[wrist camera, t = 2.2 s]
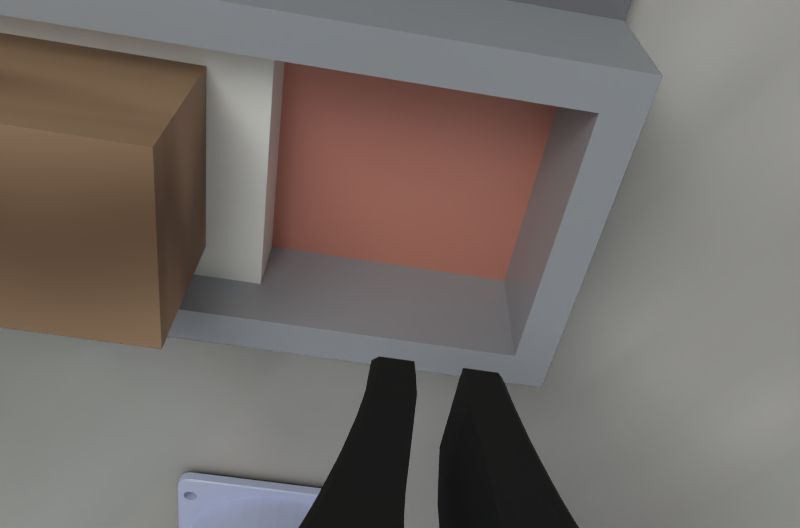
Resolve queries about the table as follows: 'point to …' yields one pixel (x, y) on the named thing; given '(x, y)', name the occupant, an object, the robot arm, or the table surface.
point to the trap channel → (392, 166)
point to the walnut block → (98, 190)
